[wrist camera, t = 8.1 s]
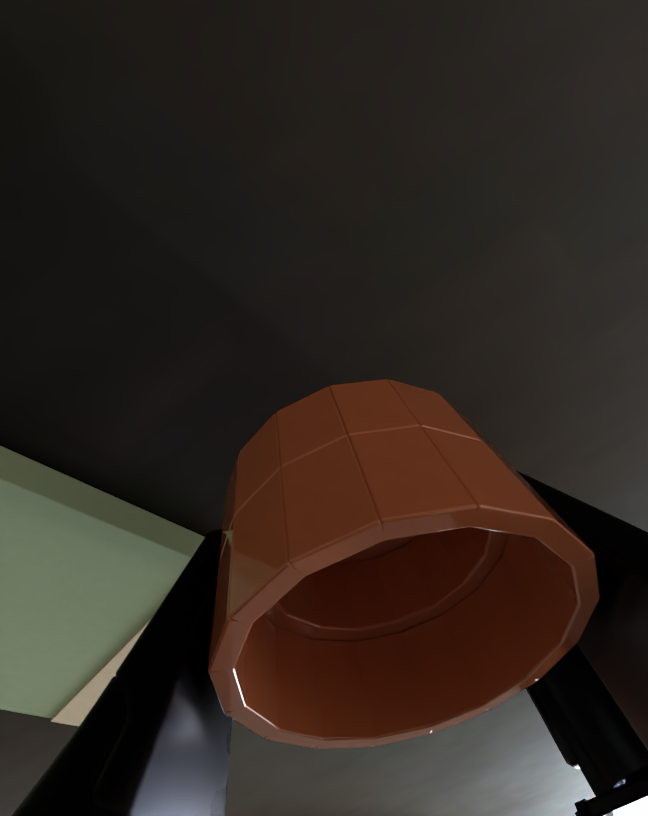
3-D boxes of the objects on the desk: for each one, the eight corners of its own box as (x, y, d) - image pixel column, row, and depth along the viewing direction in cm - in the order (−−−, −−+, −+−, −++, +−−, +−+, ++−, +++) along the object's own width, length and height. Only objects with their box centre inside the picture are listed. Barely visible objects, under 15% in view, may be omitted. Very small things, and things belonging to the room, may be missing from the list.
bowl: (352, 312, 8) (442, 421, 4) (514, 460, 11) (658, 607, 7) (177, 508, 10) (126, 711, 6) (355, 591, 13) (399, 767, 9)
